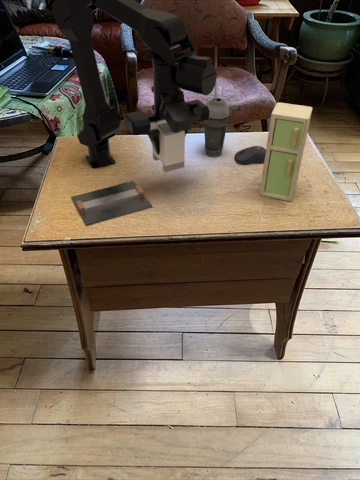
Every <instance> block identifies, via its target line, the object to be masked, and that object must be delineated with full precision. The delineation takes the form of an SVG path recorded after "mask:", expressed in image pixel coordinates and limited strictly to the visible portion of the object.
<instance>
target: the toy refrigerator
mask: <svg viewBox="0 0 360 480" xmlns="http://www.w3.org/2000/svg"><path fill="white" fill-rule="evenodd" d="M312 113H313V107H312V106H308V105H299V104H293V103H292V104H291V103H285V102H277V103H276V104H275V106H274V108H273V109H272V112H271V115H270V121H269V126H268V127H269V128H268V135H267V142H266V147H265V149H266V154H265V160H264V162H263V169H262V173H261V174H262V175H261V181H260V182H261V183H260V189H259V196H262V197H267V198H271V199H277V200H282V201H286V202H292V201H293V198H294V195H295V191H296V188H297V183H298V179H299V175H300V169H301V164H302V160H303V156H304V150H305V147H306V143H307V142H306V141H307V137H308V131H309V127H310V122H311V117H312Z"/></svg>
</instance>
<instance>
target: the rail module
mask: <svg viewBox="0 0 360 480" xmlns="http://www.w3.org/2000/svg"><path fill="white" fill-rule="evenodd" d="M157 129H158V130H159V131H160V134H159V146H160V153H159V155H158V154H157V153H156V151H155V149H154V147H153V145H151V146H152V149H151V150H152V160H153V161H155V162H156V161H160V162H161V163H162V170H163V172H165V173H167V172H171V171H176V170H179V169H184V168H185V161H186V160H185V153H186V151H185V149H186V147H185V146H186V145H185V142H186V136H185V131H184V130H183V131H180V132H177V133H175V132H172V131H171V129H170V127H169V125H168V124H167V122H166V121H164V122H159V123H157Z"/></svg>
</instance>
